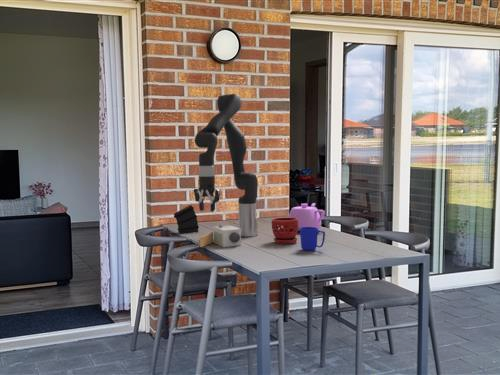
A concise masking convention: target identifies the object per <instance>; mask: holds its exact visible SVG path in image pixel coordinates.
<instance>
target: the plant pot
mask: <svg viewBox="0 0 500 375" xmlns="http://www.w3.org/2000/svg"><path fill="white" fill-rule="evenodd" d="M271 228H272V230H271V231H272V234H273V236H274V238H273V241H274V242H275V243H276V244H281V245H282V244H283V245H284V244H285V245H286V244H287V245H291V244H294V243H296V242H297V241H298V238H297V237H296V236H297V234H298V232H299V231H298V219H297V218H288V217H287V216H286V217H276V218H272V219H271Z"/></svg>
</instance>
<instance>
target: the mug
mask: <svg viewBox="0 0 500 375" xmlns="http://www.w3.org/2000/svg"><path fill="white" fill-rule="evenodd" d="M319 233H321V234H322V241H321V244H320V245H318V236H319V235H318V234H319ZM299 236H300V246H301V247H300V248H301V250H302V251H306V252H307V251H308V252H309V251H315V250H316V249H317V248H322V247H323V246H324V244H325V238H326V232H325V231H323V230H319V229H318V228H315V227H302V228H300V231H299Z"/></svg>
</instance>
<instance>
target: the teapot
mask: <svg viewBox="0 0 500 375" xmlns="http://www.w3.org/2000/svg"><path fill="white" fill-rule="evenodd" d="M315 206H316V202H313V203H312V204H311V205H310V206H309V205H308V203H301V204H300V206H294V207H292V208H291V210H290V211H289V214H288V218H297V219H298V232H300V228H302V227H315V228H318V230H319V229H320V228H321V226H322V220H323V219H324V217H325V215H326V211H325V210H323V209H318V208H317V207H315Z"/></svg>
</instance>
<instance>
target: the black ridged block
mask: <svg viewBox="0 0 500 375" xmlns="http://www.w3.org/2000/svg"><path fill="white" fill-rule="evenodd" d="M194 208H195V207H194V206H193V205H192V204H189V205H188V206H185V207H184V208H182V209H180V210H178V211H177V212H175V213H173V217H174V218H175V220H176V224H177V227H178V228H177V232H178V233H179V234H191V233H193V232H195V233H199V228H200V226H199V222H198V215H197V213H196V211H195V209H194Z"/></svg>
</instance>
